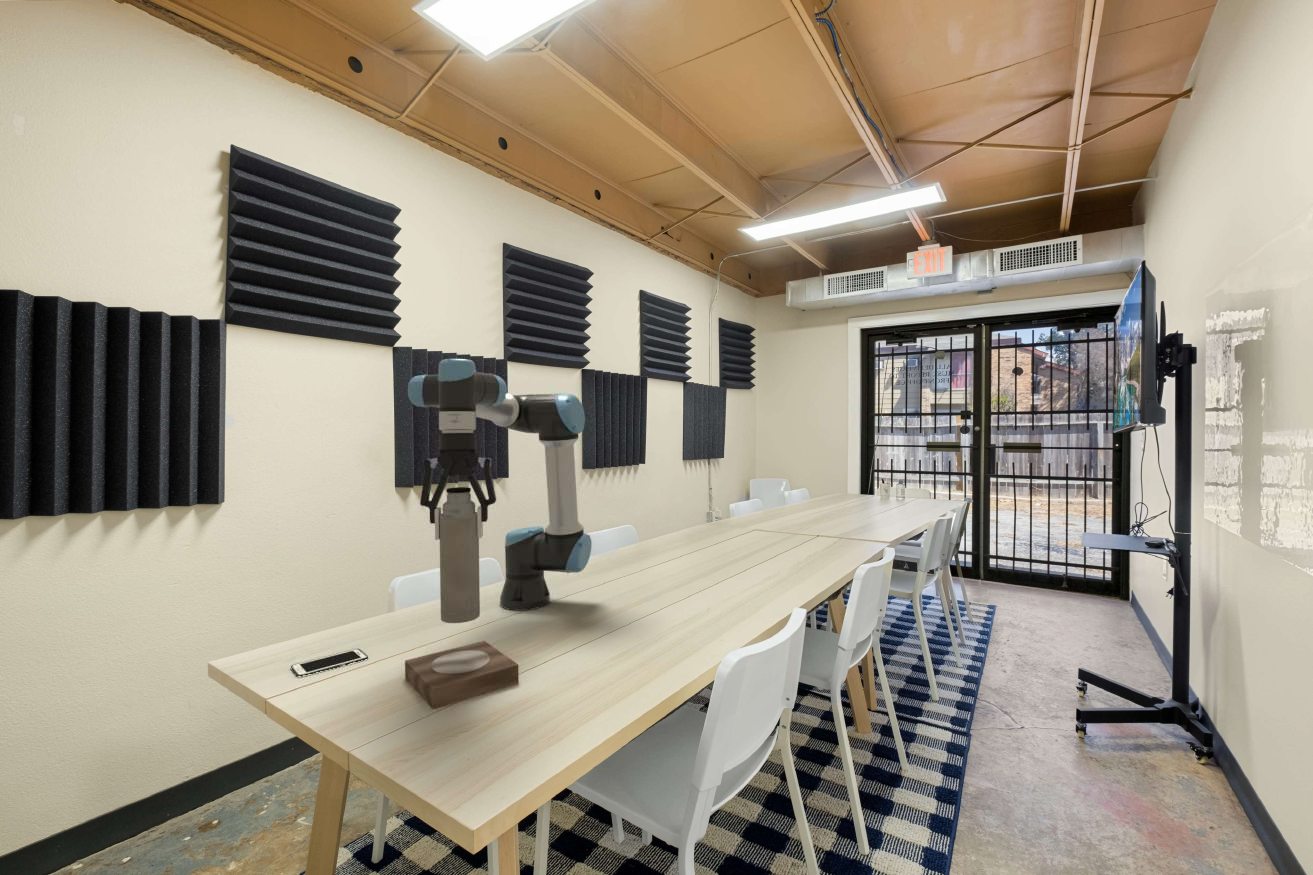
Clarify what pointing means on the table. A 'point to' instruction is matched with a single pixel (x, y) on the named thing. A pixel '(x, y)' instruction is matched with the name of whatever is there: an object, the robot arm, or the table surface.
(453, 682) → the walnut riser
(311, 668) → the cell phone
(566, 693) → the table surface
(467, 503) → the thermos bottle
